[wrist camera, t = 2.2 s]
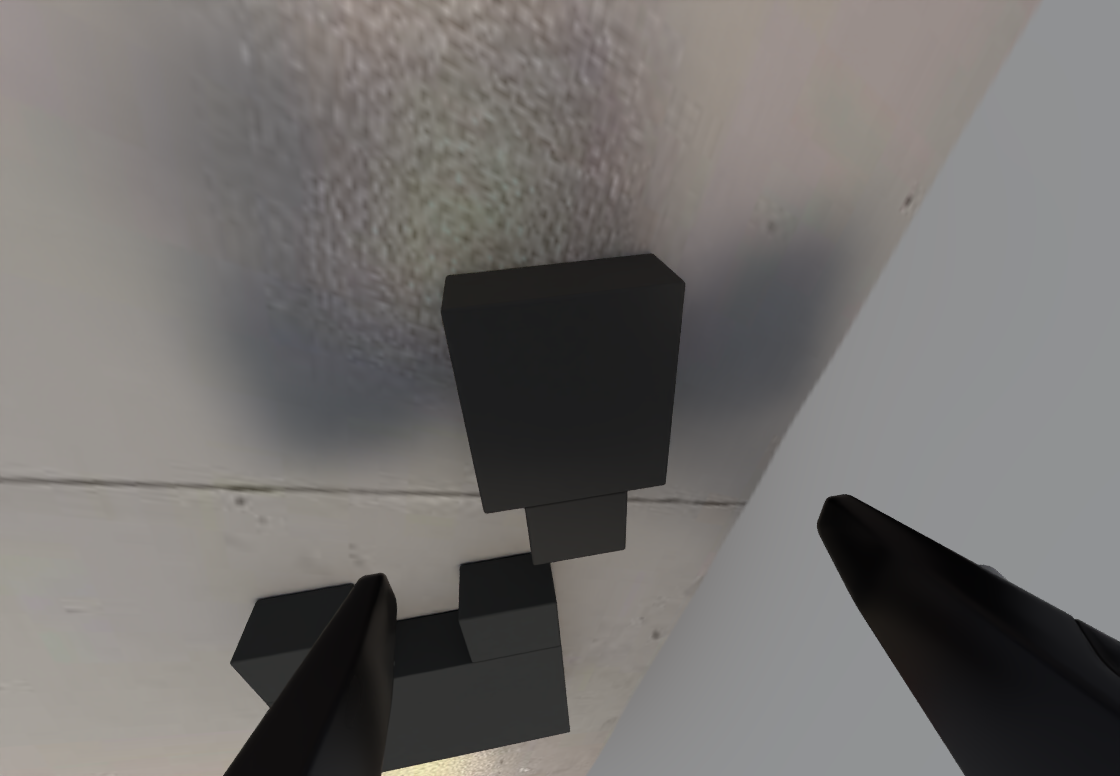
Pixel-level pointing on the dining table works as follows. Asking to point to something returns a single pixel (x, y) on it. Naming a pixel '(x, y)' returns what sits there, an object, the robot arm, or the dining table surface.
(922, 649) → the robot arm
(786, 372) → the dining table surface
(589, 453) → the pad
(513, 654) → the base pad
